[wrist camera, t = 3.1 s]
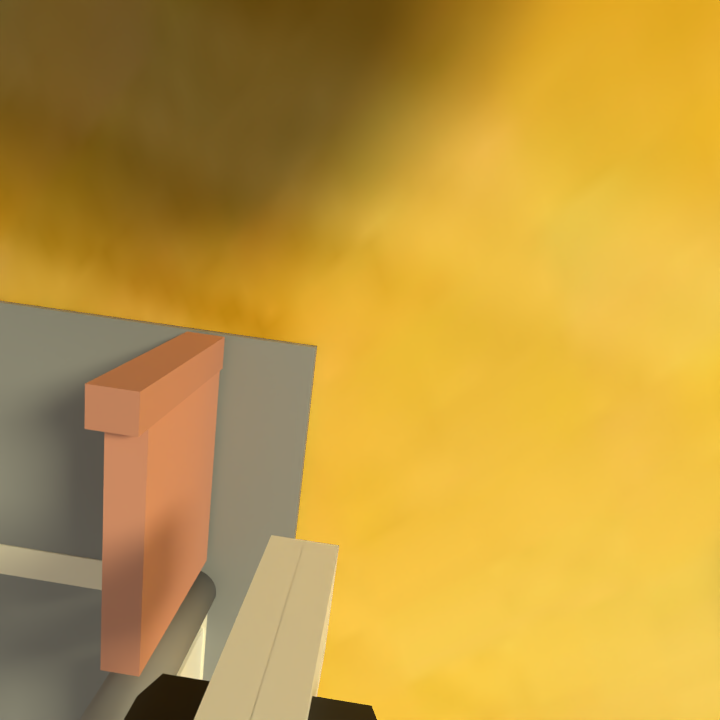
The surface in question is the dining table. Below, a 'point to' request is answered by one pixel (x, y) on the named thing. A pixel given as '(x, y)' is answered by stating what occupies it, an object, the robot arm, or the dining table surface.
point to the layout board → (86, 483)
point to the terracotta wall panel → (154, 488)
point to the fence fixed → (160, 656)
